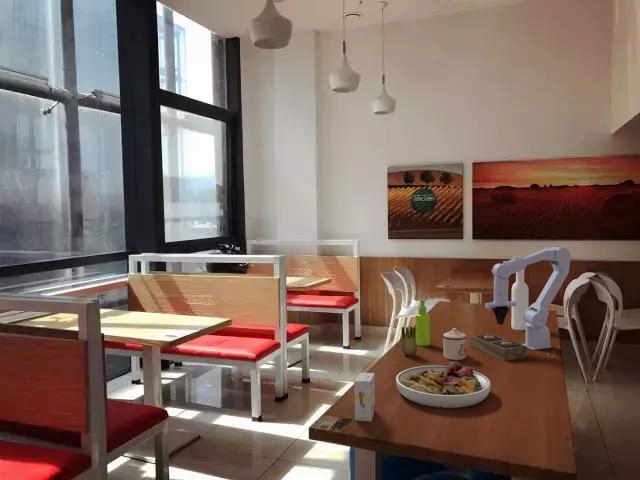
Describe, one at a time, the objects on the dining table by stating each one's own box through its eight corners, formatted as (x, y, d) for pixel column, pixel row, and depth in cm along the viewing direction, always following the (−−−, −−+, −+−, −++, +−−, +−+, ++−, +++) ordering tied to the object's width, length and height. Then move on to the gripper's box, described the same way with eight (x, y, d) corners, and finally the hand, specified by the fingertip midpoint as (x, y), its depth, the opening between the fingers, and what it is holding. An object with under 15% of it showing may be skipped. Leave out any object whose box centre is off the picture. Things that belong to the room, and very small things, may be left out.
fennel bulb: (400, 355, 219) (399, 326, 218) (407, 352, 223) (406, 324, 222) (412, 357, 215) (412, 328, 215) (418, 355, 219) (418, 326, 218)
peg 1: (490, 346, 228) (490, 335, 228) (496, 349, 224) (496, 337, 224) (482, 347, 227) (481, 336, 227) (488, 350, 223) (488, 338, 223)
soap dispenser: (430, 342, 238) (430, 297, 237) (428, 346, 232) (428, 300, 230) (417, 341, 240) (417, 297, 239) (415, 345, 234) (414, 300, 232)
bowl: (475, 419, 154) (475, 392, 154) (381, 401, 170) (380, 376, 169) (500, 387, 179) (500, 364, 179) (416, 374, 195) (416, 353, 195)
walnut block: (491, 344, 233) (491, 332, 232) (527, 357, 212) (527, 344, 212) (470, 347, 229) (470, 335, 229) (504, 360, 208) (504, 347, 208)
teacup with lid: (463, 361, 209) (462, 332, 208) (440, 358, 213) (439, 330, 212) (470, 353, 219) (470, 325, 218) (448, 351, 223) (448, 323, 223)
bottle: (531, 330, 256) (531, 268, 254) (514, 330, 256) (514, 268, 254) (525, 326, 264) (525, 266, 262) (509, 326, 264) (509, 266, 262)
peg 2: (507, 353, 218) (507, 341, 218) (514, 355, 214) (514, 343, 214) (498, 354, 217) (498, 342, 216) (505, 357, 213) (505, 344, 212)
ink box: (359, 409, 162) (358, 371, 162) (375, 410, 161) (375, 372, 160) (354, 420, 154) (353, 380, 153) (371, 422, 153) (370, 381, 152)
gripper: (508, 289, 231) (508, 320, 231) (480, 291, 226) (480, 323, 227) (519, 292, 224) (519, 324, 225) (491, 294, 219) (490, 327, 220)
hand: (500, 324), depth 225 cm, fingers closed
